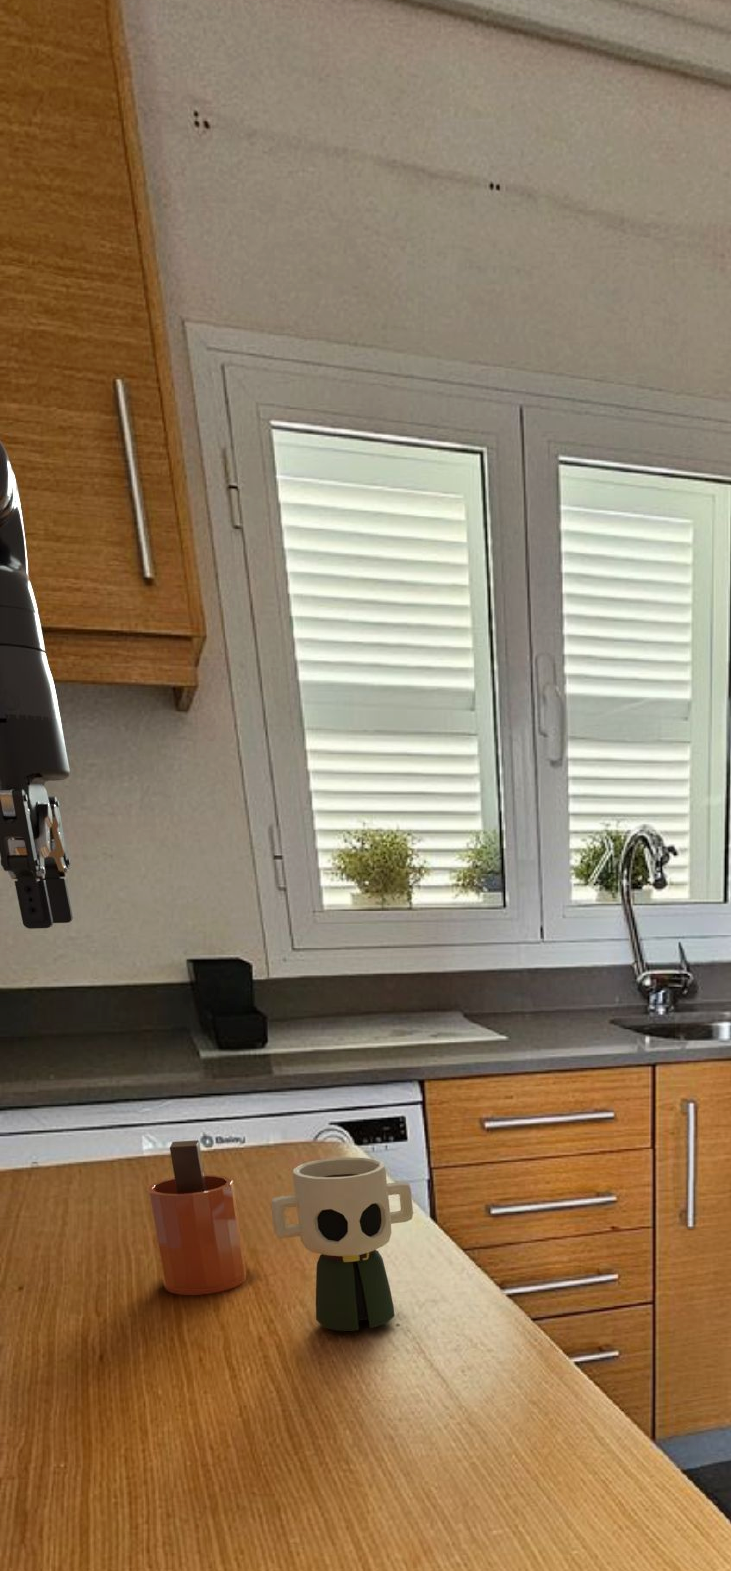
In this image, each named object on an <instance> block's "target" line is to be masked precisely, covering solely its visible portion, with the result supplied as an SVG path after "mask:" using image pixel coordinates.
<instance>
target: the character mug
mask: <svg viewBox="0 0 731 1571" xmlns="http://www.w3.org/2000/svg"><path fill="white" fill-rule="evenodd" d="M292 1172H293V1173H292V1178H293V1179H292V1180H293V1187H294V1194H290V1195H289V1194H288V1195H279V1196H276V1197H274V1198H272V1199H271V1204H270V1210H271V1216H272V1224H273V1231H274V1233H275V1235H276V1238H280V1239H289V1238H296V1237H300V1242H302V1244H303V1246H304V1248H305V1249H306V1250H308V1251H309V1252H311V1253H314V1254H319V1257H318V1260H317V1262H316V1272H315V1273H316V1274H315V1319H316V1321H317V1322H318V1323H319V1324H320V1325H321V1327H323V1328H325V1329H328V1330H333V1331H337V1332H340V1331H341V1332H342V1331H343V1332H344V1331H346V1332H348V1331H351V1332H353V1331H355V1332H356V1331H359V1330H360V1329H359V1326H360V1325H359V1321H363V1320H368V1324H369V1328H370V1329H371V1328H376V1327H379V1326H382V1325H385V1324H387V1323H389V1322H390V1321H391V1320H392V1319H393V1318H394V1317H395V1307H394V1302H393V1296H392V1293H391V1287H390V1283H389V1279H388V1274H387V1271H386V1267H385V1263H384V1258H383V1256H382V1255H381V1253H380V1252H379V1251H378V1249H380V1248H383V1247H384V1246H385V1245H387V1244H388V1243H390V1239H391V1236H392V1225H393V1224H400V1223H401V1224H402V1223H407V1222H409V1221H411V1220H413V1216H414V1209H413V1208H414V1207H413V1196H412V1188H411V1186H410V1183H409V1182H407V1181H397V1182H388V1180H387V1171H386V1166H385V1162H383V1161H381V1160H379V1159H376V1158H369V1157H355V1156H353V1157H351V1156H345V1157H329V1158H324V1159H318V1160H317V1159H316V1160H313V1161H309V1162H305V1163H302V1164H299V1165H298V1166H296V1167H294V1168H293V1171H292ZM387 1182H388V1183H387ZM395 1195H399V1205H400V1206H399V1207H400V1210H397V1211H391V1209H390V1199H389V1196H395ZM290 1208H291V1209H292V1208H296V1211H297V1220H298V1223H297V1224H296V1223H295V1224H290V1225H288V1224H287V1218H286V1209H290Z"/></svg>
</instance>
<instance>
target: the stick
mask: <svg viewBox="0 0 731 1571" xmlns="http://www.w3.org/2000/svg"><path fill="white" fill-rule="evenodd" d="M169 1152H170V1158H171V1165H172V1171H173V1176H174V1177H175V1182H176V1188H177V1194H185V1193H196V1192H203V1191H207V1187H206V1181H205V1175H206V1174H205V1169H204V1162H203V1156H202V1150H201V1143H200V1140H199V1139H196V1140H181V1141H172V1142H171V1144H170V1146H169Z"/></svg>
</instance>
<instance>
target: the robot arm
mask: <svg viewBox="0 0 731 1571" xmlns="http://www.w3.org/2000/svg"><path fill="white" fill-rule="evenodd" d="M11 464H12V463H11V461H10V458H9V456H8V452H7V451H6V448H5V446H4V444H3V442H2V441H1V440H0V865H1V867H2V869H3V871H4V872H7V873H8V875H9V877H10V879H11V880H14V886H15V891H16V897H17V901H18V906H19V912H20V916H21V921H22V924H23V926H24V927H25V928H26V929H29V930H31V929H33V930H34V929H50V928H52V927H53V925H54V924H68V923H70V922H71V923H72V921H73V919H74V916H73V910H72V905H71V900H70V894H69V889H68V884H67V879H66V878H68V873H69V870H70V869H71V859H70V858H69V855H68V854H69V853H68V847H67V843H66V838H65V832H64V827H63V823H62V822H63V821H62V817H61V812H60V802H59V800H58V799H57V798H58V797H57V796H48V792H47V789H46V787H45V784H46V783H47V782H48V781H51V782H53V781H54V782H55V781H57V782H58V781H64V780H67V779H68V778H69V777H70V775H71V770H70V764H69V758H68V753H67V748H66V747H67V746H66V743H65V737H64V736H65V735H64V731H63V725H62V719H61V714H60V708H59V702H58V697H57V692H56V688H55V683H54V678H53V675H52V673H51V668H50V665H49V662H48V658H47V653H46V648H45V642H44V637H43V630H42V626H41V619H40V615H39V610H38V606H37V600H36V597H35V593H34V590H33V587H32V586H33V585H32V584H31V583H32V582H31V580H30V576H29V564H28V555H27V545H26V537H25V528H24V521H23V513H22V506H21V500H20V494H19V487H18V483H17V479H16V476H15V475H16V474H15V473H14V470H13V466H12V465H11Z"/></svg>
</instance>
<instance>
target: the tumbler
mask: <svg viewBox="0 0 731 1571" xmlns="http://www.w3.org/2000/svg"><path fill="white" fill-rule="evenodd" d="M205 1181H206V1187H207V1191H203V1192H196V1193H185V1194H177V1188H176V1182H175V1176H174V1177H169V1178H166V1179H162V1180H161V1179H160V1180H158V1181H156V1182H153V1183H151V1184H149V1185H148V1186H147V1188H146V1194H147V1199H148V1205H149V1211H150V1218H151V1223H152V1229H153V1234H154V1239H155V1240H154V1241H155V1245H156V1252H157V1257H158V1262H159V1268H160V1274H161V1279H162V1282H163V1286H164V1289H165V1291H167V1292H169V1293H171V1294H175V1295H181V1296H201V1295H211V1294H216V1293H221V1292H225V1291H228V1290H231V1289H234V1288H236V1287H239V1286H240V1285H242V1284H244V1283H245V1281H246V1280H247V1266H246V1260H245V1253H244V1247H243V1239H242V1232H241V1226H240V1218H239V1213H238V1206H237V1199H236V1192H235V1186H234V1180H233V1179H232V1178H230V1177H229V1176H224V1175H219V1174H205Z"/></svg>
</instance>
